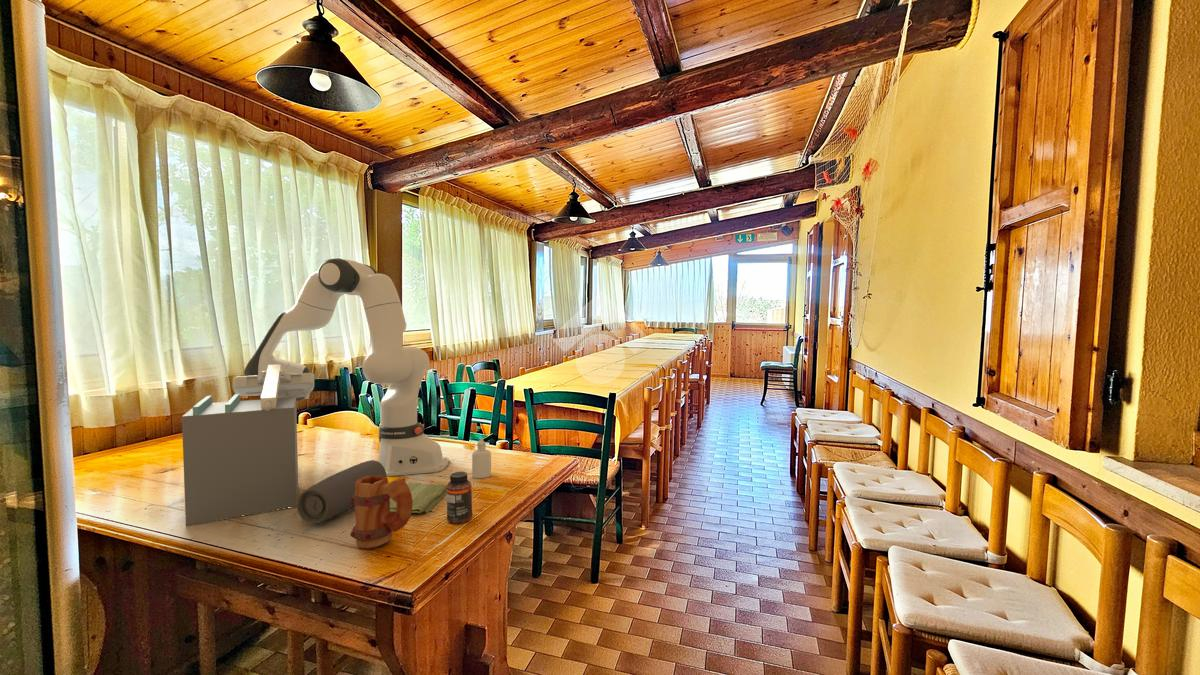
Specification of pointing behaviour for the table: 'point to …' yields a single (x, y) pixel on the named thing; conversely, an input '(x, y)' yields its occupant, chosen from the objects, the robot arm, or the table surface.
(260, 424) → the stand
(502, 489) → the table surface
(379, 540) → the mug
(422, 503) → the washcloth
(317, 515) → the bluetooth speaker
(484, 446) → the eye dropper bottle
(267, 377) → the bar
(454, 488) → the supplement bottle
